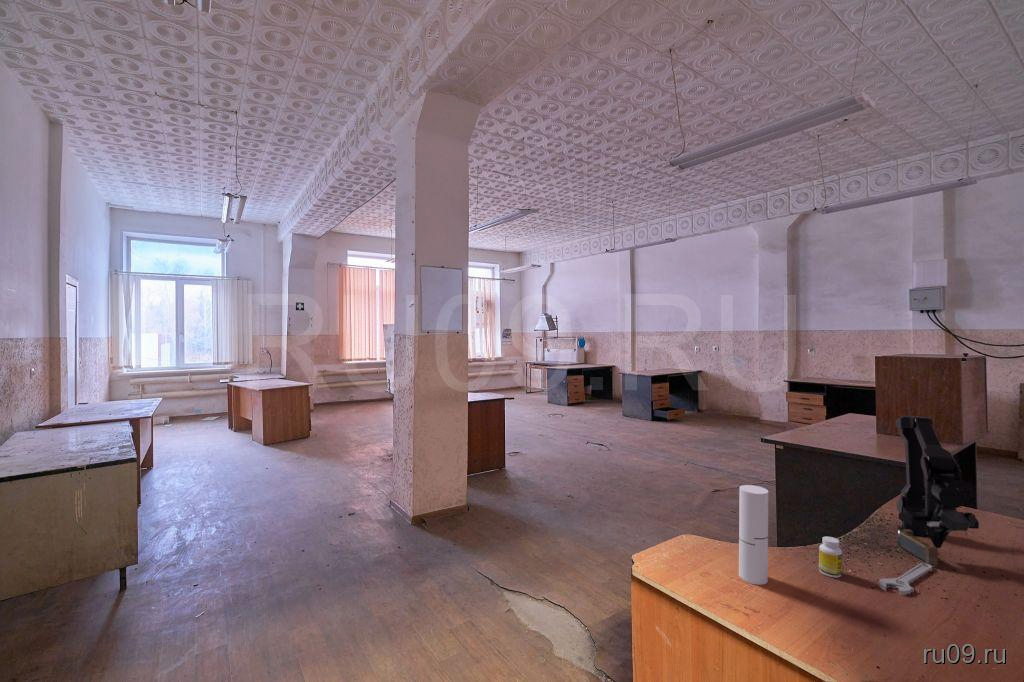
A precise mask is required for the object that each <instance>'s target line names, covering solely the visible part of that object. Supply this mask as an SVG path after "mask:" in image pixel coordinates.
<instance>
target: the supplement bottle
mask: <svg viewBox="0 0 1024 682" xmlns="http://www.w3.org/2000/svg"><path fill="white" fill-rule="evenodd" d="M840 545H841V544H840V540H839V539H838V538H836V537H832V536H823V537H822V543H821V544H820V545H819V547H818V550H819V551H818V553H819V555H818V571H819V573H820V574H823V575H824V576H827V577H830V578H833V579H834V578H835V579H836V578H837V579H838V578H840V577H842V574H843V550H842V549H841V547H840Z"/></svg>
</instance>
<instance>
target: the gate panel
mask: <svg viewBox="0 0 1024 682" xmlns="http://www.w3.org/2000/svg"><path fill="white" fill-rule="evenodd" d="M896 542H897V543H896V544H897V546H899V547H901V548H903V549H904V550H905V551H907V552H909V553H911V554H913V555H914V556H916V557H917V558H918V559H921V560H922V561H924V562H925V549H926V546H931V545H930V544H928V543H927V542H924V541H922V540H920V538H918V537H916V536H915V535H913V536H912V535H910V534H908V533H907V532H904V530H901V529H899V528H897V541H896Z"/></svg>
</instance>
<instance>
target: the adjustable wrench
mask: <svg viewBox="0 0 1024 682" xmlns="http://www.w3.org/2000/svg"><path fill="white" fill-rule="evenodd" d="M926 566H928V567H926ZM929 570H932V571H933V567H932V566H931V565H929V564H926V563H925V562H921V563H918V564H917V565H915V566H914V567H912V568H910V569H909V570H907V571H906V572H905V573H903V574H901V575H900V576H899V577H893V578H892V577H891V578H879V580H878V587H879V588H880V589H881V590H883V591H884V592H887V588H889V587H893V586H894V587H895V588H898V589H897V590H898V591H900V592H899V595H900V594H909V593H911V592H914V591H915V589H914V587H912V586H911V584H912V583H914V582H915V581H914V580H916V579H917V578H919V577H920V576H922V575H923V574H925V573H926V572H928V571H929ZM925 575H926V574H925ZM922 577H923V576H922ZM919 579H920V578H919ZM917 580H918V579H917ZM917 580H916V581H917ZM913 581H914V582H913ZM911 582H912V583H911ZM910 583H911V584H910ZM895 588H894V589H895ZM914 593H915V592H914ZM911 594H912V593H911ZM909 595H910V594H909Z"/></svg>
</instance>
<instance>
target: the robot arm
mask: <svg viewBox="0 0 1024 682" xmlns="http://www.w3.org/2000/svg"><path fill="white" fill-rule="evenodd" d="M895 426H896V429H897V430H898V434H899V435H900V437H901V438H902V439H903V441H904V449H905V450H904V451H905V452H904V453H905V471H906V476H905V477H906V484H905V485H904V487H903V488H902V489H901V491H900V496H899V498H898V499H897V501H896V503H895V504H896V510H897V512H898V520H900V521H901V525H897V526H896V527H897V529H900V530H903V529H910V530H912V531H914V535H913V536H921V537H922V536H925V535H926V536H925V537H929V539H930V540H931V543H932V544H933V547H936V548H938V549H941V547H942V545H943V544H944V542H945V540H946V539H947V536H949V534H951V532H957V531H961V532H962V531H963V532H967V531H968V530H969V529H975V530H976V529H979V528H980V522H979V521H978V519H977V518H976V515H975V514H974V513H973V512H964V511H958V510H957V509H958V508H960V507H963V506H964V505H965V503H966V501H967V497H966V495H965V494H964V493H963V491H961V490H960V488H957V483H958V484H963V481H962V480H963V478H964V477H963V473H962V470H961V467H960V465H959V464H958V461H957V460H956V459H955V458H954V456H953V454H952V453H951V452H950V451H948V450H947V449H945V448H943V446H942V444H941V442H940V440H939V437H938V436H937V434H936V431H935V429H934V426H933V420H932V418H930V417H927V416H914V415H913V416H912V415H900V417H898V418H896V420H895ZM928 535H929V536H928Z"/></svg>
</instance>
